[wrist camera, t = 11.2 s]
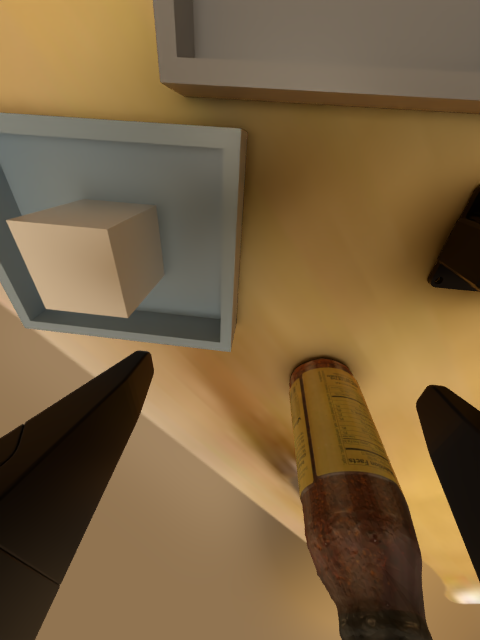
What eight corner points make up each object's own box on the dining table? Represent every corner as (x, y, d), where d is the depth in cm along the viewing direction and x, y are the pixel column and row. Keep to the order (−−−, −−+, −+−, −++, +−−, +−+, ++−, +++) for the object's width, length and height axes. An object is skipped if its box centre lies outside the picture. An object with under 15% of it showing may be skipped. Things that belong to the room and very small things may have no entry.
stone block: (156, 205, 17) (107, 229, 12) (164, 275, 19) (127, 318, 15) (83, 198, 17) (5, 220, 12) (102, 268, 20) (45, 308, 15)
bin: (247, 132, 14) (241, 128, 11) (236, 324, 22) (230, 351, 19) (-24, 114, 15) (-94, 106, 12) (56, 304, 23) (24, 328, 20)
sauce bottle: (315, 406, 27) (380, 794, 11) (275, 376, 25) (279, 791, 9) (370, 378, 24) (577, 864, 8) (329, 341, 22) (487, 884, 6)
